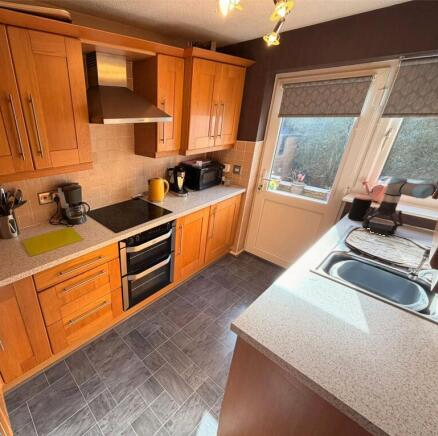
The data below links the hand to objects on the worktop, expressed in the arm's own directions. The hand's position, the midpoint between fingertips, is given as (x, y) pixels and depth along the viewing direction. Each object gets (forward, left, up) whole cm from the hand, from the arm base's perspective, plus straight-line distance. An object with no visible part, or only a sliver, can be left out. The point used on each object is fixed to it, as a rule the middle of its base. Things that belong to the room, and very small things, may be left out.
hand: (377, 232), depth 155 cm
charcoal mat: (+11, 0, -1) cm, 11 cm away
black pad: (+2, 0, -1) cm, 2 cm away
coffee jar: (+24, +12, -1) cm, 27 cm away
